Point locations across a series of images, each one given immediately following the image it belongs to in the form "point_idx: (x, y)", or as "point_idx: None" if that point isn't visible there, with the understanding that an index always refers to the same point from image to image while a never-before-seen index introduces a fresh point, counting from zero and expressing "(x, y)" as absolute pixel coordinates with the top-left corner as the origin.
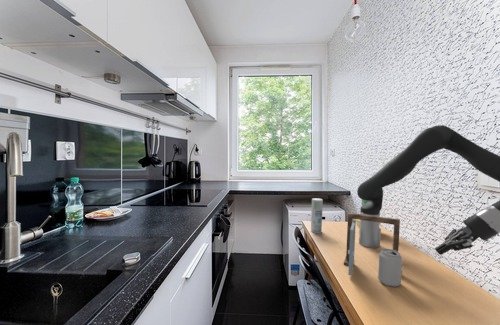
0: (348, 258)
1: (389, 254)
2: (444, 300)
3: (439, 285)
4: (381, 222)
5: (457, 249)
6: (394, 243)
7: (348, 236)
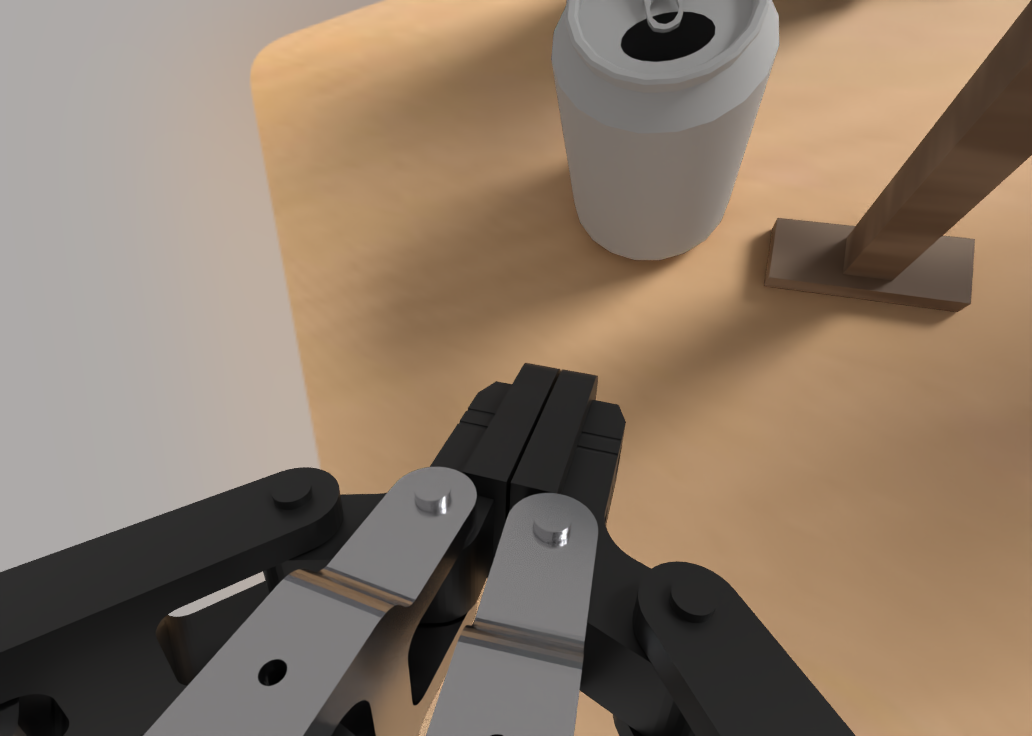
0: None
1: None
2: None
3: (754, 570)
4: None
5: (247, 596)
6: (1005, 45)
7: None
